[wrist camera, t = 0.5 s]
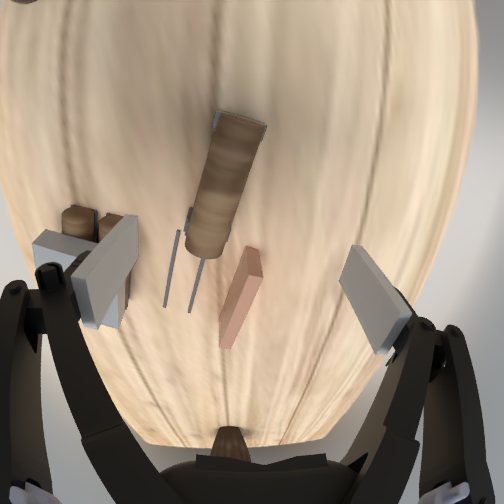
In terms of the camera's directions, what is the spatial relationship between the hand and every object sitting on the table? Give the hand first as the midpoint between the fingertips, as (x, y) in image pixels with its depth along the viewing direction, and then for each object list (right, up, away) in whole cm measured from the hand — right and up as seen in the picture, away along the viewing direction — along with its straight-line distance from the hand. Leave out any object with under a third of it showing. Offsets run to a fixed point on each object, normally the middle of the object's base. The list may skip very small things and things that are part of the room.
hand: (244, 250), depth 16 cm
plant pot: (-8, -65, +67) cm, 94 cm away
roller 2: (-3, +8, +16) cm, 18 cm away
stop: (-2, -6, +29) cm, 30 cm away
